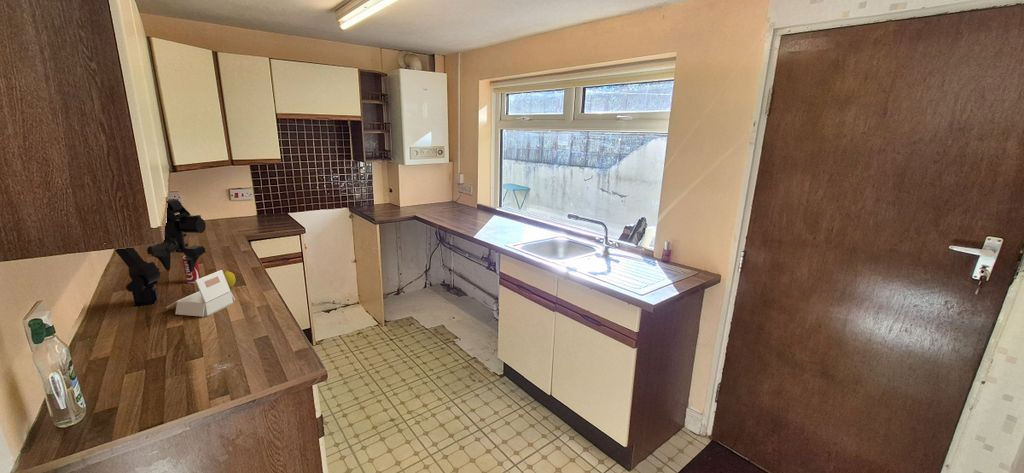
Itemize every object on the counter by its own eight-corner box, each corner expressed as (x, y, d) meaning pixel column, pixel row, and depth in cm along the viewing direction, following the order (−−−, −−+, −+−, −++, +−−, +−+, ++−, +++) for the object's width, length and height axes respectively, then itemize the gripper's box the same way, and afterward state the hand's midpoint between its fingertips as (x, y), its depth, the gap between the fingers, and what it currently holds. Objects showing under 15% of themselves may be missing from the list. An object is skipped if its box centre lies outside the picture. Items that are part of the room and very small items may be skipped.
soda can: (203, 280, 187) (199, 255, 184) (190, 284, 183) (186, 258, 180) (196, 278, 190) (192, 253, 187) (184, 282, 185) (179, 256, 182)
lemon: (229, 291, 176) (226, 273, 174) (218, 290, 177) (215, 272, 175) (239, 286, 181) (237, 269, 179) (229, 285, 182) (226, 268, 180)
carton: (162, 314, 153) (159, 302, 152) (197, 298, 168) (195, 286, 167) (203, 318, 151) (201, 305, 150) (236, 301, 166) (234, 289, 165)
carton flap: (204, 302, 152) (195, 280, 150) (229, 291, 163) (220, 269, 161) (205, 302, 152) (196, 279, 150) (230, 290, 163) (222, 269, 161)
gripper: (130, 236, 151) (137, 276, 154) (180, 239, 150) (187, 279, 154) (156, 229, 161) (163, 267, 165) (203, 231, 161) (209, 269, 165)
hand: (179, 271), depth 162 cm, fingers open, 9 cm apart
